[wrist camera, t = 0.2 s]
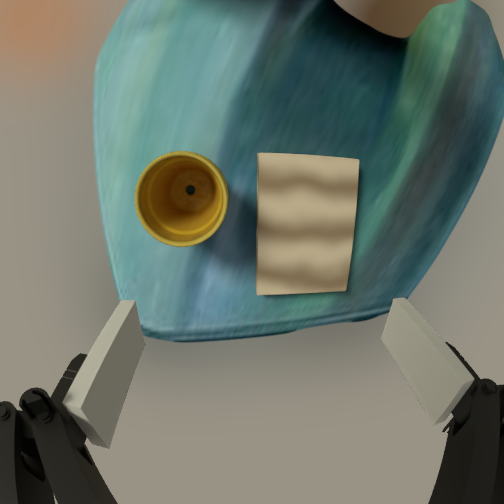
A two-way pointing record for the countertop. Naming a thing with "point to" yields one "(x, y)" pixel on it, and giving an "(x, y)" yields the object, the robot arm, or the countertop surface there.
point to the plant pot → (181, 198)
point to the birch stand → (304, 222)
